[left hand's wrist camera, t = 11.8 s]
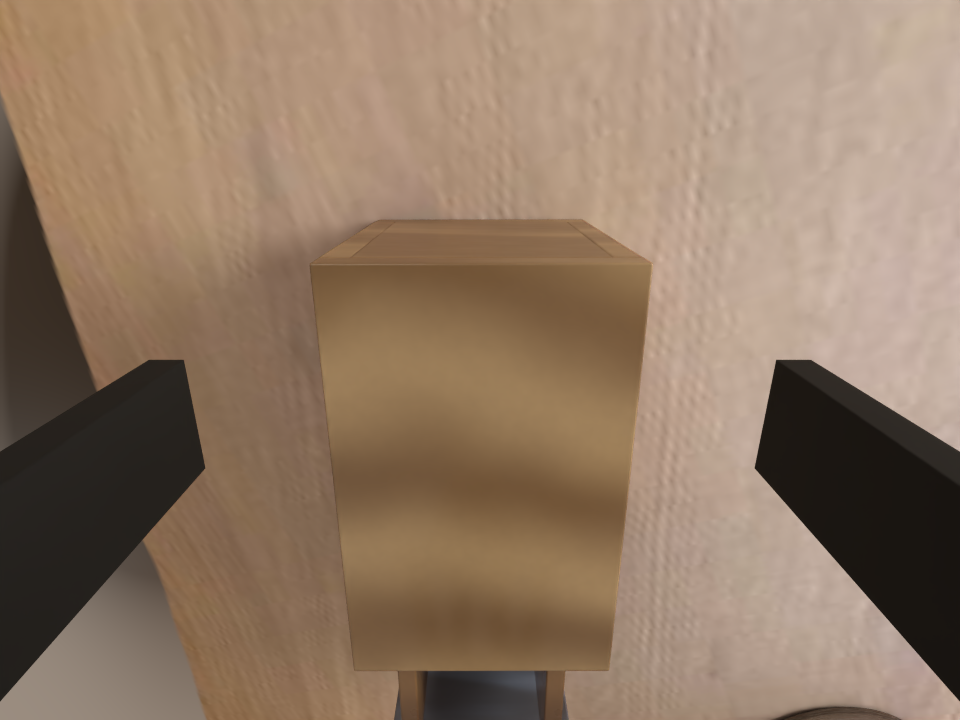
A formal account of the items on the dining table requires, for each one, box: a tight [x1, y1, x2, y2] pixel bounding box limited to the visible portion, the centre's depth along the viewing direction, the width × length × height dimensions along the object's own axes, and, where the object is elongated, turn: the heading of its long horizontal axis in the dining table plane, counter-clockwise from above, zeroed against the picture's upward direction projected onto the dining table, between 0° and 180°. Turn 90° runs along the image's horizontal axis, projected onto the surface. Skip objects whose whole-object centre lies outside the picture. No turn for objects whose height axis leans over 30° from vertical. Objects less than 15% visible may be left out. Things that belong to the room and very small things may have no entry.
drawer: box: [394, 671, 569, 720], centre depth 29 cm, size 21×9×10 cm, turn 0°
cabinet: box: [310, 220, 653, 671], centre depth 24 cm, size 16×10×12 cm, turn 0°
